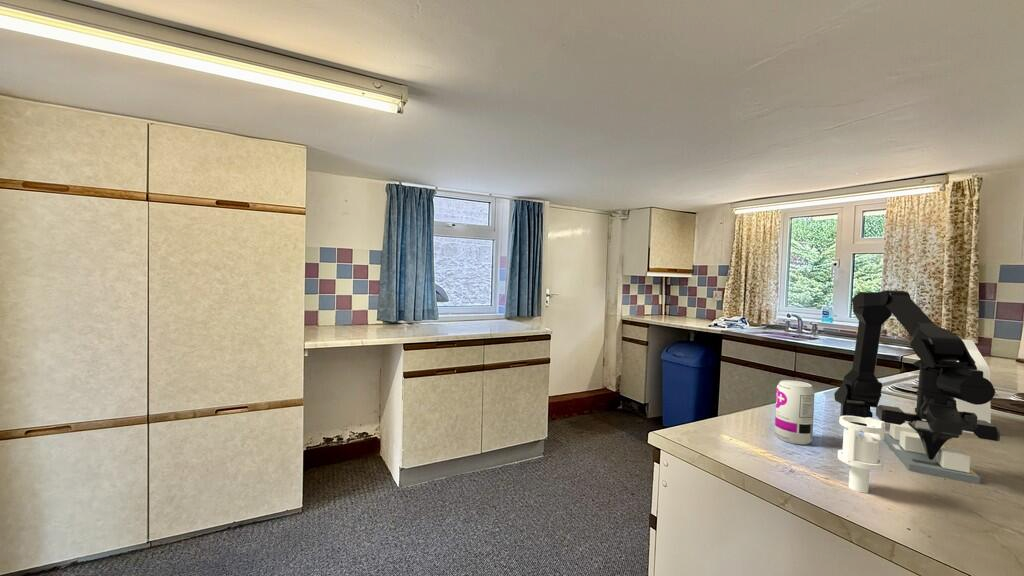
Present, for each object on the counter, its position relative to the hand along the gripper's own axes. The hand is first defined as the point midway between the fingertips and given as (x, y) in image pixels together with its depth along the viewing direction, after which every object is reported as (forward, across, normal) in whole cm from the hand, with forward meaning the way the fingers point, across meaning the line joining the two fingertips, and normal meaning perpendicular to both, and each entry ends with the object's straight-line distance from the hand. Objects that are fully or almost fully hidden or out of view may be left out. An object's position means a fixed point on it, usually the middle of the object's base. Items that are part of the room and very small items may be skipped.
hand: (930, 459), depth 92 cm
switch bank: (+2, +1, +8) cm, 8 cm away
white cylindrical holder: (+3, -16, -20) cm, 26 cm away
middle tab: (+1, -1, +8) cm, 8 cm away
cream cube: (+1, -1, +16) cm, 16 cm away
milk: (+2, +17, +45) cm, 48 cm away
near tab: (+1, +4, 0) cm, 4 cm away
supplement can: (+3, -25, +4) cm, 26 cm away
